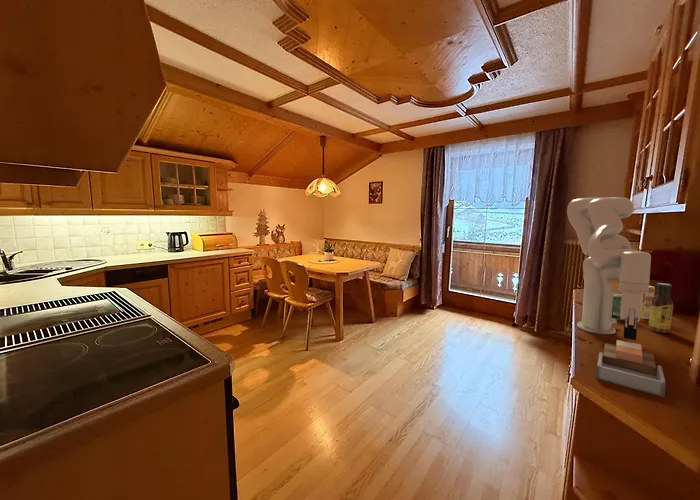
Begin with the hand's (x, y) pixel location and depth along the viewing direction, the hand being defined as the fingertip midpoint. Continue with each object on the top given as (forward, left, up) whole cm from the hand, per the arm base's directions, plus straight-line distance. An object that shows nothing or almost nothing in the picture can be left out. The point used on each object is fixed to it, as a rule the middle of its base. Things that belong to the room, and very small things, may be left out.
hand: (629, 338), depth 103 cm
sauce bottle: (-35, -9, -6) cm, 36 cm away
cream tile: (+7, +3, -2) cm, 8 cm away
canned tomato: (-37, -26, -6) cm, 45 cm away
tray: (+20, +11, -5) cm, 23 cm away
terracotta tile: (+11, +6, -2) cm, 13 cm away
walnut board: (+9, +5, -5) cm, 11 cm away
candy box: (-49, -23, -6) cm, 54 cm away
